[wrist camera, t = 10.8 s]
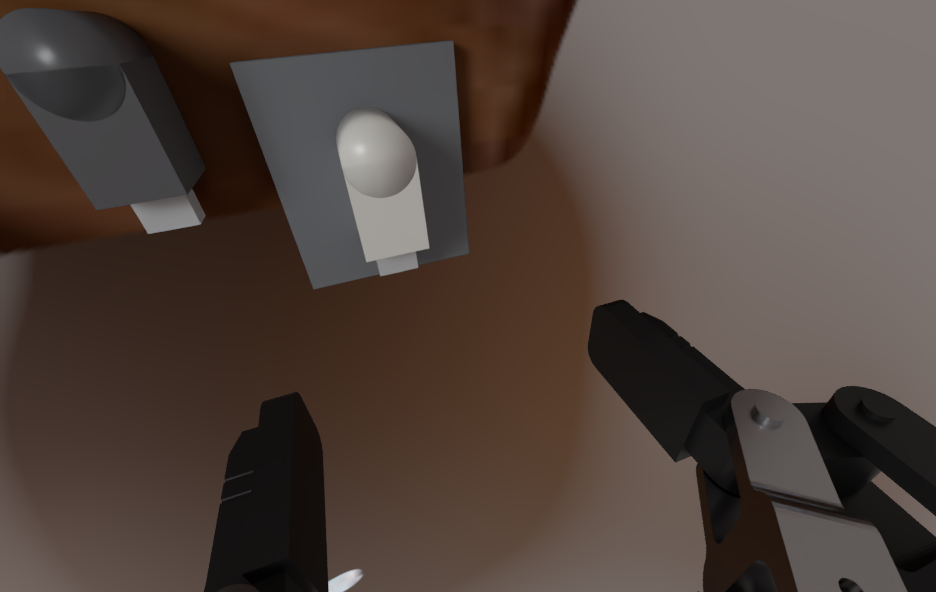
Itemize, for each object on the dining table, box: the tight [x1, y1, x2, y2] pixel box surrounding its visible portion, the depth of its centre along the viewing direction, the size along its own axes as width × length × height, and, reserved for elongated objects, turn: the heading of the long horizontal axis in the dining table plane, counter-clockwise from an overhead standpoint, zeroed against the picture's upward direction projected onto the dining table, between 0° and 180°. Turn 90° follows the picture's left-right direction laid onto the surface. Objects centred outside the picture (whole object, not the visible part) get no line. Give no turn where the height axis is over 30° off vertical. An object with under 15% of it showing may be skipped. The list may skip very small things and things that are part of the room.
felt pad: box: [230, 41, 469, 289], centre depth 24 cm, size 13×11×1 cm
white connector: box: [336, 107, 429, 276], centre depth 22 cm, size 9×4×4 cm, turn 4°
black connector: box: [0, 8, 206, 234], centre depth 17 cm, size 9×4×4 cm, turn 4°
